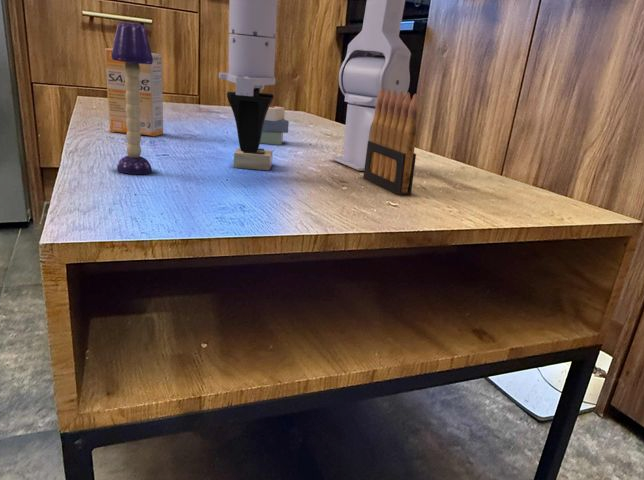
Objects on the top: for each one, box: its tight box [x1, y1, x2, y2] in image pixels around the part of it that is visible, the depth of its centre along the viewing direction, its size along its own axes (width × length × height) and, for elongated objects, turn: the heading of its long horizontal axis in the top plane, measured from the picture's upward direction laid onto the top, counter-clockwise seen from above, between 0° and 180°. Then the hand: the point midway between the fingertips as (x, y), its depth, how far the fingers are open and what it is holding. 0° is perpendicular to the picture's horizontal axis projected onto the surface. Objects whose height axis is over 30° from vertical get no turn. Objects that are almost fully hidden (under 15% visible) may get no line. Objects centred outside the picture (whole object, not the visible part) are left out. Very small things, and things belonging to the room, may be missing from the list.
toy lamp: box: [111, 21, 153, 175], centre depth 72 cm, size 5×5×17 cm
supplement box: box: [104, 47, 164, 137], centre depth 102 cm, size 8×5×13 cm, turn 80°
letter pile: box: [260, 105, 290, 146], centre depth 108 cm, size 7×7×6 cm
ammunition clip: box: [362, 87, 419, 196], centre depth 78 cm, size 11×2×12 cm, turn 22°
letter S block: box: [233, 147, 274, 171], centre depth 86 cm, size 5×5×2 cm
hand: (249, 151), depth 79 cm, fingers closed
